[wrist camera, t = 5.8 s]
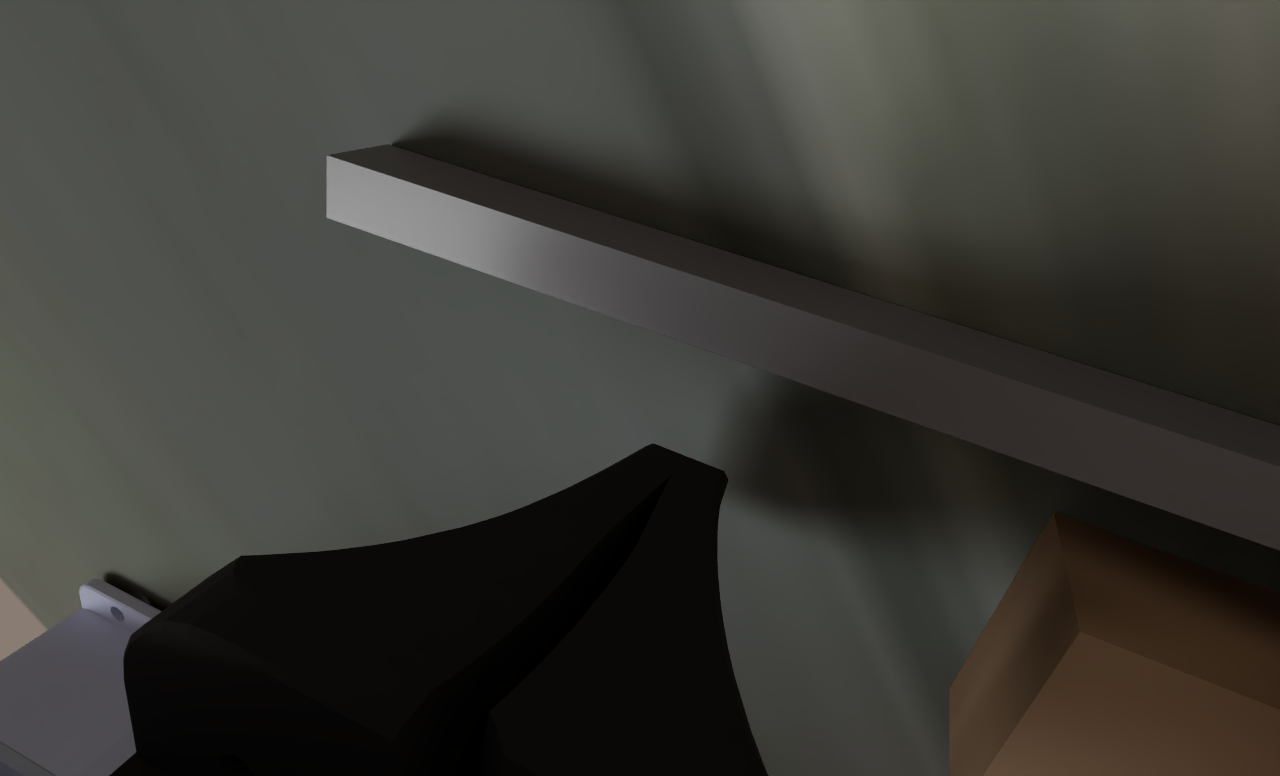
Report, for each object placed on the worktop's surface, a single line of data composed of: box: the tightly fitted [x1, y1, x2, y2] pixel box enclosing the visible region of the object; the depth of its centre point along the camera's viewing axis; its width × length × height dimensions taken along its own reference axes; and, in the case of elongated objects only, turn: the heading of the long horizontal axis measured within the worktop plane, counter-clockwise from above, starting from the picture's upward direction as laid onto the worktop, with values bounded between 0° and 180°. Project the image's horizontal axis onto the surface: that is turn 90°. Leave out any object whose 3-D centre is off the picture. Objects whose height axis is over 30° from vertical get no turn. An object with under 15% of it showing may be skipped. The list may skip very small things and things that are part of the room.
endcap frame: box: [327, 144, 1280, 551], centre depth 10 cm, size 21×8×4 cm, turn 77°
